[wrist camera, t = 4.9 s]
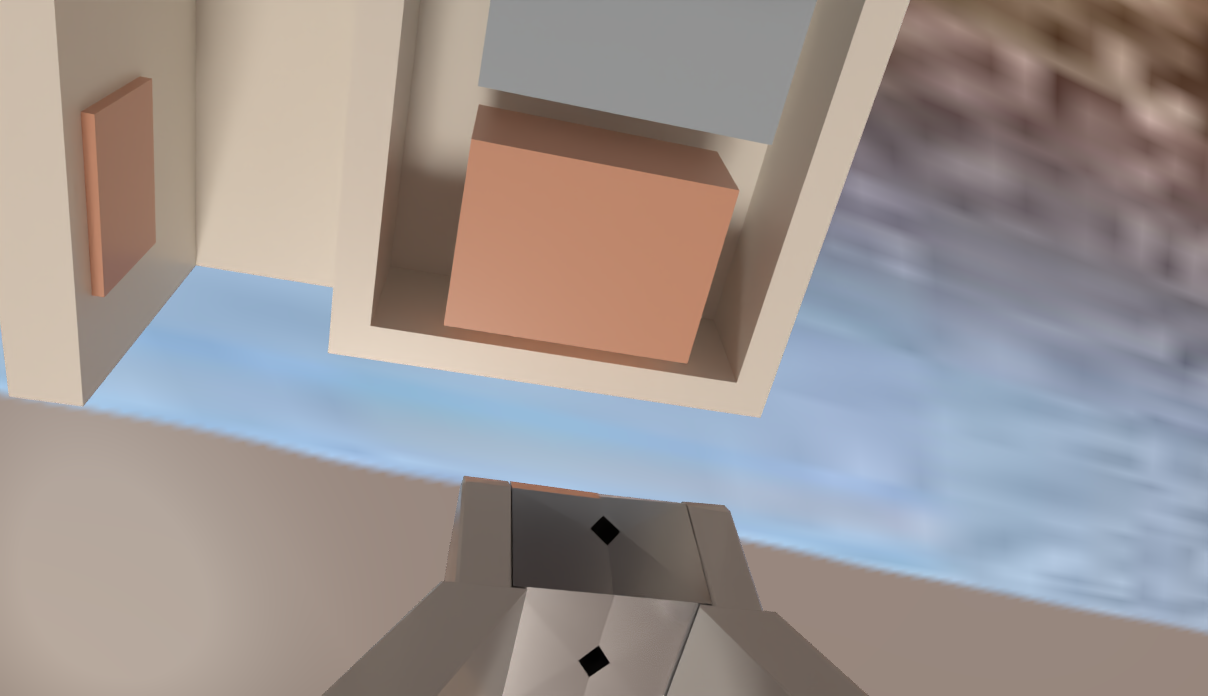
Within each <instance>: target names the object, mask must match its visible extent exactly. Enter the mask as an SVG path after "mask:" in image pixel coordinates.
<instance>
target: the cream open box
mask: <svg viewBox="0 0 1208 696" xmlns="http://www.w3.org/2000/svg"><path fill="white" fill-rule="evenodd" d="M909 2H910V0H817V2H816V5H815V8H814V11H813V15H812V18H811V21H810V24H809V27H808V31H807V34H806V37H805V40H804V44H803V47H802V50H801V53H800V56H799V60H798V63H797V66H796V69H795V72H794V76H793V79H792V82H791V85H790V88H789V92H788V95H787V98H786V101H785V104H784V108H783V111H782V114H781V117H780V120H779V124H778V127H777V130H776V133H775V136H774V140H773V143H772V145H768V144H763V143H758V142H753V141H748V140H743V139H738V138H733V137H728V136H723V135H718V134H713V133H709V132H704V131H699V130H694V129H689V128H684V127H679V126H674V125H669V124H664V123H659V122H654V121H649V120H644V119H639V118H634V117H629V116H624V115H619V114H614V113H609V112H604V111H599V110H594V109H589V108H584V107H579V106H574V105H570V104H565V103H560V102H555V101H550V100H545V99H540V98H535V97H530V96H525V95H520V94H515V93H510V92H505V91H500V90H495V89H490V88H485V87H480V86H478V82H479V75H480V68H481V61H482V55H483V48H484V41H485V34H486V28H487V21H488V14H489V7H490V0H0V324H1V332H2V341H3V349H4V358H5V366H6V375H7V383H8V392H9V397H16V398H24V399H31V400H39V401H46V402H53V403H61V404H68V405H76V406H84V405H85V404H86V402H87V401H88V400H89V399H90V397H91V396H92V395H93V394H94V392H95V391H96V390H97V389H98V387H99V386H100V385H101V384H102V382H103V381H104V380H105V378H106V377H107V376H108V375H109V373H110V372H111V371H112V370H113V368H114V367H115V366H116V365H117V363H118V362H119V361H120V360H121V358H122V357H123V356H124V355H125V353H126V352H127V351H128V350H129V348H130V347H131V346H132V345H133V343H134V342H135V341H136V340H137V338H138V337H139V336H140V335H141V333H142V332H143V331H144V330H145V328H146V327H147V326H148V325H149V323H150V322H151V321H152V320H153V318H154V317H155V316H156V315H157V313H158V312H159V311H160V310H161V308H162V307H163V306H164V305H165V303H166V302H167V301H168V300H169V298H170V297H171V296H172V295H173V293H174V292H175V291H176V290H177V288H178V287H179V286H180V285H181V283H182V282H183V281H184V280H185V278H186V277H187V276H188V275H189V273H190V272H191V271H192V270H193V268H194V267H195V266H196V265H197V266H204V267H210V268H216V269H222V270H228V271H235V272H241V273H247V274H253V275H259V276H266V277H272V278H278V279H284V280H290V281H297V282H303V283H309V284H315V285H321V286H328V287H333V299H332V312H331V324H330V337H329V349H328V353H332V354H339V355H345V356H352V357H359V358H365V359H372V360H379V361H385V362H392V363H399V364H405V365H412V366H419V367H425V368H432V369H439V370H445V371H452V372H459V373H465V374H472V375H479V376H485V377H492V378H499V379H505V380H512V381H519V382H526V383H532V384H539V385H546V386H552V387H559V388H566V389H572V390H579V391H586V392H592V393H599V394H606V395H612V396H619V397H626V398H632V399H639V400H646V401H652V402H659V403H666V404H672V405H679V406H686V407H692V408H699V409H706V410H712V411H719V412H726V413H732V414H739V415H746V416H752V417H759V418H760V417H761V414H762V411H763V409H764V406H765V403H766V400H767V397H768V395H769V392H770V389H771V386H772V384H773V381H774V378H775V375H776V372H777V370H778V367H779V364H780V361H781V358H782V356H783V353H784V350H785V347H786V345H787V342H788V339H789V336H790V333H791V331H792V328H793V325H794V322H795V319H796V317H797V314H798V311H799V308H800V306H801V303H802V300H803V297H804V294H805V292H806V289H807V286H808V283H809V280H810V278H811V275H812V272H813V269H814V266H815V264H816V261H817V258H818V255H819V253H820V250H821V247H822V244H823V241H824V239H825V236H826V233H827V230H828V227H829V225H830V222H831V219H832V216H833V214H834V211H835V208H836V205H837V202H838V200H839V197H840V194H841V191H842V188H843V186H844V183H845V180H846V177H847V175H848V172H849V169H850V166H851V163H852V161H853V158H854V155H855V152H856V149H857V147H858V144H859V141H860V138H861V135H862V133H863V130H864V127H865V124H866V122H867V119H868V116H869V113H870V110H871V108H872V105H873V102H874V99H875V96H876V94H877V91H878V88H879V85H880V83H881V80H882V77H883V74H884V71H885V69H886V66H887V63H888V60H889V57H890V55H891V52H892V49H893V46H894V43H895V41H896V38H897V35H898V32H899V30H900V27H901V24H902V21H903V18H904V16H905V13H906V10H907V7H908V4H909ZM479 104H480V105H485V106H490V107H495V108H500V109H505V110H510V111H515V112H520V113H525V114H530V115H535V116H540V117H546V118H551V119H556V120H561V121H566V122H571V123H576V124H581V125H586V126H591V127H596V128H601V129H606V130H611V131H616V132H621V133H626V134H631V135H636V136H641V137H646V138H651V139H657V140H662V141H667V142H672V143H677V144H682V145H687V146H692V147H697V148H702V149H707V150H712V151H717V152H718V154H719V156H720V157H721V159H722V161H723V163H724V164H725V166H726V168H727V170H728V171H729V173H730V175H731V176H732V178H733V180H734V182H735V183H736V185H737V187H738V189H739V190H740V191H739V194H738V197H737V201H736V204H735V207H734V211H733V214H732V217H731V221H730V224H729V227H728V230H727V234H726V237H725V240H724V244H723V247H722V250H721V254H720V257H719V260H718V264H717V267H716V270H715V274H714V277H713V280H712V283H711V287H710V290H709V293H708V297H707V300H706V303H705V307H704V310H703V313H702V317H701V320H700V323H699V326H698V330H697V333H696V336H695V340H694V343H693V346H692V350H691V353H690V356H689V360H688V363H687V364H686V363H679V362H673V361H667V360H660V359H654V358H648V357H641V356H635V355H629V354H622V353H616V352H610V351H603V350H597V349H591V348H584V347H578V346H572V345H565V344H559V343H552V342H546V341H540V340H533V339H527V338H521V337H514V336H508V335H502V334H495V333H489V332H483V331H476V330H470V329H464V328H457V327H451V326H445V325H444V319H445V313H446V306H447V299H448V293H449V286H450V279H451V272H452V266H453V259H454V252H455V245H456V239H457V232H458V225H459V219H460V212H461V205H462V198H463V192H464V185H465V178H466V171H467V165H468V158H469V151H470V144H471V138H472V134H473V129H474V124H475V120H476V115H477V111H478V106H479Z"/></svg>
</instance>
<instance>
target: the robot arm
mask: <svg viewBox="0 0 1208 696" xmlns="http://www.w3.org/2000/svg"><path fill="white" fill-rule="evenodd" d="M322 696H868V695H867V694H866V693H865V692H864V691H863V690H862V689H860V688H859V687H858V686H857V685H856V684H855V683H854V682H853V681H852V680H851V679H849V678H848V677H847V676H846V675H845V674H844V673H843V672H842V671H841V670H840V669H838V668H837V667H836V666H835V665H834V664H833V663H832V662H831V661H829V660H828V659H827V658H826V657H825V656H824V655H823V654H822V653H821V652H819V651H818V650H817V649H816V648H815V647H814V646H813V645H812V644H810V642H808V641H807V640H806V639H805V638H804V637H803V636H802V635H801V634H800V633H798V632H797V631H796V630H795V629H794V628H793V627H792V626H790V624H788V623H787V622H786V621H785V620H784V619H783V618H782V617H781V616H779V615H778V614H777V613H776V612H769V611H763V609H762V606H761V603H760V600H759V597H758V594H757V591H756V588H755V585H754V582H753V579H752V576H751V573H750V570H749V567H748V564H747V561H746V558H745V554H744V552H743V549H742V545H741V542H740V539H739V536H738V533H737V530H736V527H735V524H734V521H733V518H732V515H731V512H730V511H729V510H728V509H727V508H726V507H725V506H724V505H715V504H703V503H692V502H681V503H677V502H668V501H659V500H650V499H640V498H631V497H622V496H613V495H604V494H598V493H592V492H584V491H577V490H570V489H563V488H555V487H548V486H541V485H533V484H526V483H519V482H511V481H510V484H509V482H508V481H501V480H493V479H485V478H477V477H469V476H464V477H463V480H462V483H461V486H460V492H459V498H458V503H457V508H456V514H455V520H454V525H453V531H452V537H451V542H450V547H449V553H448V559H447V566H446V573H445V579H444V581H441V582H440V583H439V584H438V585H437V586H436V587H435V588H434V589H433V590H432V591H431V592H429V593H428V594H427V595H426V596H425V597H424V598H423V599H422V600H421V601H420V602H419V603H418V604H417V605H416V606H415V607H414V608H413V609H412V610H411V611H410V612H409V613H408V614H406V615H405V616H404V617H403V618H402V619H401V620H400V621H399V622H398V623H397V624H396V625H395V626H394V627H393V628H392V629H391V630H390V631H389V632H388V633H387V634H386V635H384V637H382V638H381V639H380V640H379V641H378V642H377V643H376V644H375V645H374V646H373V647H372V648H371V649H370V650H369V651H368V652H367V653H366V654H365V655H364V656H362V658H360V660H358V661H357V662H356V663H355V664H354V665H353V666H352V667H351V668H350V669H349V670H348V671H347V672H346V673H345V674H344V675H343V676H342V677H341V678H340V679H338V680H337V681H336V682H335V683H334V684H333V685H332V686H331V687H330V688H329V689H328V690H327V691H326V692H325V693H324V694H323V695H322Z"/></svg>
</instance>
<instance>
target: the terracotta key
mask: <svg viewBox="0 0 1208 696" xmlns="http://www.w3.org/2000/svg"><path fill="white" fill-rule="evenodd" d="M739 191H740V190H739V189H738V187H737V185H736V183H735V182H734V180H733V178H732V176H731V175H730V173H729V171H728V170H727V168H726V166H725V164H724V163H723V161H722V159H721V157H720V156H719V154H718V152H717V151H712V150H707V149H702V148H697V147H692V146H687V145H682V144H677V143H672V142H667V141H662V140H657V139H651V138H646V137H641V136H636V135H631V134H626V133H621V132H616V131H611V130H606V129H601V128H596V127H591V126H586V125H581V124H576V123H571V122H566V121H561V120H556V119H551V118H546V117H540V116H535V115H530V114H525V113H520V112H515V111H510V110H505V109H500V108H495V107H490V106H485V105H480V104H479V106H478V111H477V115H476V120H475V124H474V129H473V134H472V138H471V144H470V151H469V158H468V165H467V171H466V178H465V185H464V192H463V198H462V205H461V212H460V219H459V225H458V232H457V239H456V245H455V252H454V259H453V266H452V272H451V279H450V286H449V293H448V299H447V306H446V313H445V319H444V325H445V326H451V327H457V328H464V329H470V330H476V331H483V332H489V333H495V334H502V335H508V336H514V337H521V338H527V339H533V340H540V341H546V342H552V343H559V344H565V345H572V346H578V347H584V348H591V349H597V350H603V351H610V352H616V353H622V354H629V355H635V356H641V357H648V358H654V359H660V360H667V361H673V362H679V363H686V364H687V363H688V360H689V356H690V353H691V350H692V346H693V343H694V340H695V336H696V333H697V330H698V326H699V323H700V320H701V317H702V313H703V310H704V307H705V303H706V300H707V297H708V293H709V290H710V287H711V283H712V280H713V277H714V274H715V270H716V267H717V264H718V260H719V257H720V254H721V250H722V247H723V244H724V240H725V237H726V234H727V230H728V227H729V224H730V221H731V217H732V214H733V211H734V207H735V204H736V201H737V197H738V194H739Z"/></svg>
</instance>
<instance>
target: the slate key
mask: <svg viewBox="0 0 1208 696" xmlns="http://www.w3.org/2000/svg"><path fill="white" fill-rule="evenodd" d="M816 2H817V0H490V7H489V14H488V21H487V28H486V34H485V41H484V48H483V55H482V61H481V68H480V75H479V82H478V86H480V87H485V88H490V89H495V90H500V91H505V92H510V93H515V94H520V95H525V96H530V97H535V98H540V99H545V100H550V101H555V102H560V103H565V104H570V105H574V106H579V107H584V108H589V109H594V110H599V111H604V112H609V113H614V114H619V115H624V116H629V117H634V118H639V119H644V120H649V121H654V122H659V123H664V124H669V125H674V126H679V127H684V128H689V129H694V130H699V131H704V132H709V133H713V134H718V135H723V136H728V137H733V138H738V139H743V140H748V141H753V142H758V143H763V144H768V145H772V143H773V140H774V136H775V133H776V130H777V127H778V124H779V120H780V117H781V114H782V111H783V108H784V104H785V101H786V98H787V95H788V92H789V88H790V85H791V82H792V79H793V76H794V72H795V69H796V66H797V63H798V60H799V56H800V53H801V50H802V47H803V44H804V40H805V37H806V34H807V31H808V27H809V24H810V21H811V18H812V15H813V11H814V8H815V5H816Z"/></svg>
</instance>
